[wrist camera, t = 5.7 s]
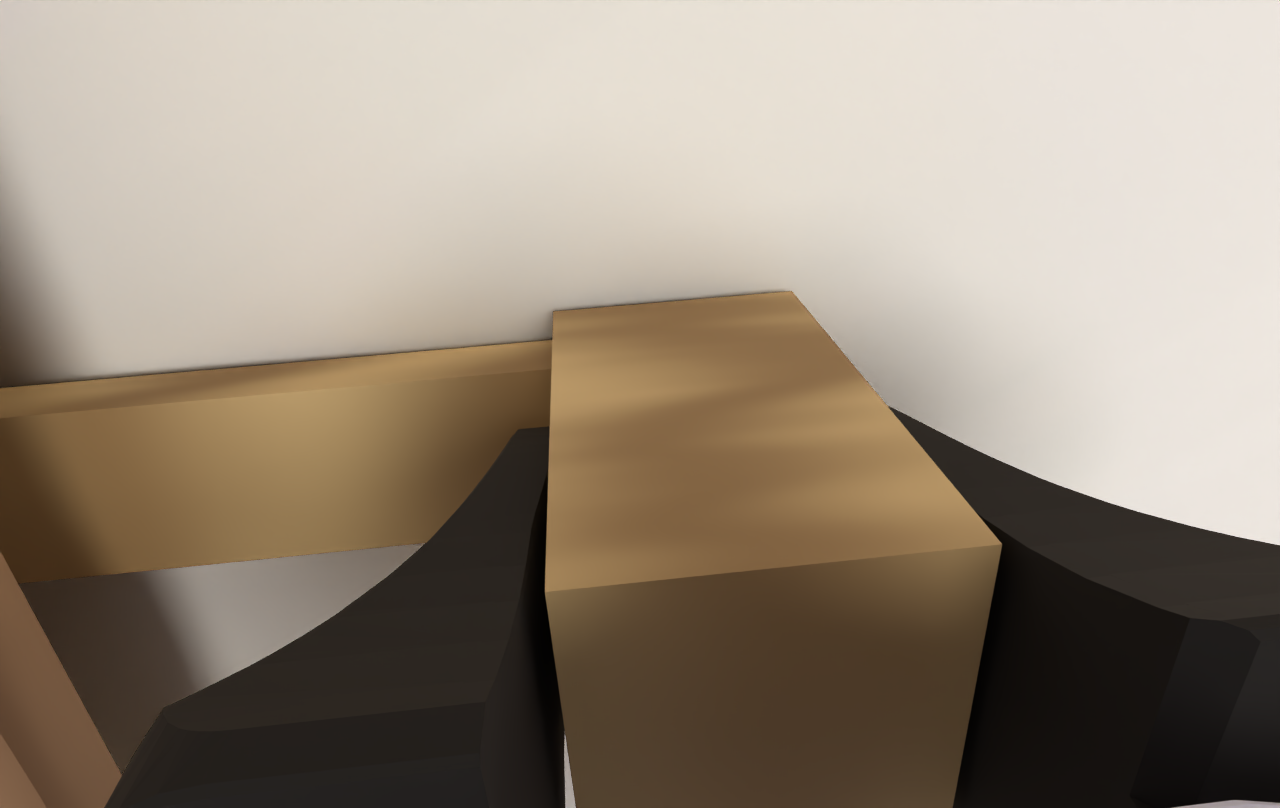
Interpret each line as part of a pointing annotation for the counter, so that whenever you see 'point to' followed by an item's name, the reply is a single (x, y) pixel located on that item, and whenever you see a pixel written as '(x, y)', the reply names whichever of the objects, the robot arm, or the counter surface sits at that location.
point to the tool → (586, 531)
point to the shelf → (44, 719)
